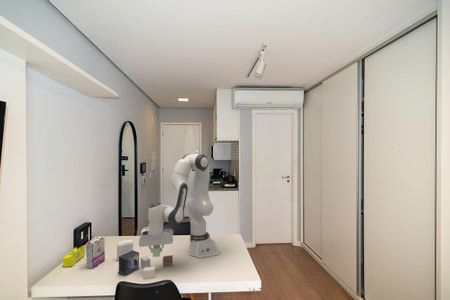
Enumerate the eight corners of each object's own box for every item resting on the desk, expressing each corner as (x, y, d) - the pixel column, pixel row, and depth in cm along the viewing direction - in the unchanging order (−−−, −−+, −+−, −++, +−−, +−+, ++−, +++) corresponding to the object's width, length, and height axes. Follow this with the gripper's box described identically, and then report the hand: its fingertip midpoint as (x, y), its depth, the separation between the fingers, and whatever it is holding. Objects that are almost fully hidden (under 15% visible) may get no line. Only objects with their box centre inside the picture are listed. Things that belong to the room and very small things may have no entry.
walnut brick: (163, 263, 154) (163, 256, 154) (172, 262, 155) (172, 255, 155) (162, 266, 150) (162, 258, 150) (172, 265, 151) (172, 258, 151)
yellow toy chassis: (72, 267, 149) (72, 254, 149) (62, 268, 149) (62, 254, 149) (85, 256, 165) (85, 244, 165) (76, 256, 165) (76, 244, 164)
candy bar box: (98, 260, 159) (98, 235, 159) (105, 260, 158) (104, 236, 158) (85, 268, 148) (85, 242, 148) (92, 269, 147) (92, 243, 147)
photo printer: (132, 255, 166) (132, 238, 165) (133, 257, 162) (133, 240, 162) (116, 259, 160) (116, 241, 160) (117, 261, 156) (117, 243, 156)
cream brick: (144, 275, 139) (144, 267, 139) (154, 274, 141) (154, 266, 141) (143, 279, 136) (143, 270, 135) (154, 278, 137) (154, 269, 137)
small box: (125, 276, 138) (125, 259, 138) (117, 273, 141) (117, 256, 141) (139, 268, 147) (139, 252, 147) (132, 266, 151) (132, 249, 151)
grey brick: (146, 263, 155) (146, 255, 155) (150, 266, 150) (150, 258, 150) (140, 265, 152) (140, 257, 152) (144, 268, 147) (144, 260, 147)
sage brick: (160, 252, 149) (160, 244, 149) (159, 256, 143) (159, 248, 143) (153, 252, 148) (153, 244, 148) (152, 257, 143) (152, 249, 142)
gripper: (173, 226, 151) (173, 247, 151) (139, 229, 147) (140, 251, 147) (173, 230, 144) (173, 252, 145) (138, 233, 140) (138, 255, 141)
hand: (156, 251), depth 146 cm, fingers closed on sage brick, 4 cm apart
